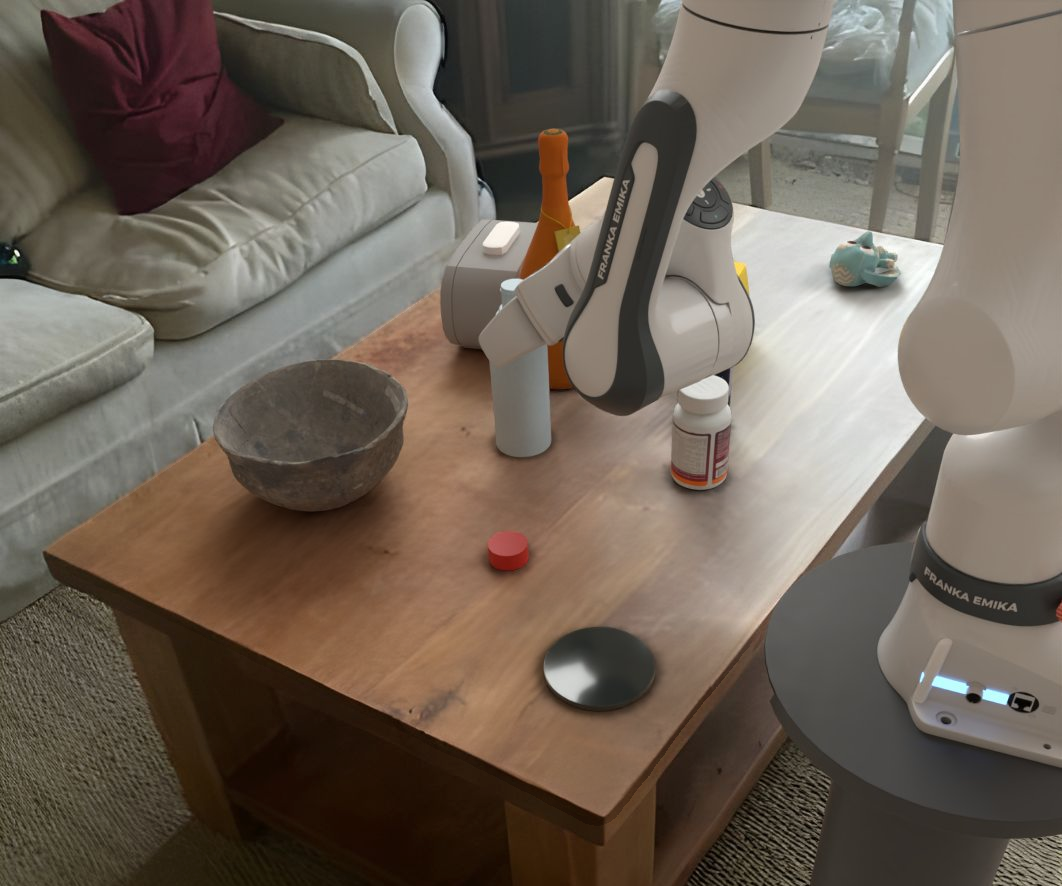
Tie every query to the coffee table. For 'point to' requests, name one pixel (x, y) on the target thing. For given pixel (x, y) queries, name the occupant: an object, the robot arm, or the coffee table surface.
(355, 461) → the bowl
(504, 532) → the cap
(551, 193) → the wine bottle
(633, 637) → the coaster
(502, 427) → the bottle
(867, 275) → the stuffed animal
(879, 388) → the coffee table surface
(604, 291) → the robot arm
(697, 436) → the pill bottle
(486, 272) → the alarm clock
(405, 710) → the coffee table surface
